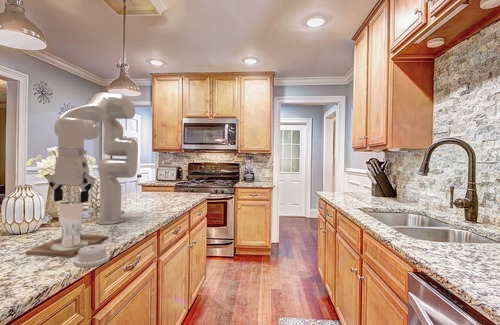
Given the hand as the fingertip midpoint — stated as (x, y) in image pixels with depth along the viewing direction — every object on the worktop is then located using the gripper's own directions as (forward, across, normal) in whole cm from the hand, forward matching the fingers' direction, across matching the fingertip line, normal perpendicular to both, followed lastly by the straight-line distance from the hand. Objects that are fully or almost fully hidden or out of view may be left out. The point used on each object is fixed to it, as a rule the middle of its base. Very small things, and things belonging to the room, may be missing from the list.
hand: (71, 201), depth 95 cm
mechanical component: (+17, -14, +10) cm, 24 cm away
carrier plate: (+17, +2, -2) cm, 17 cm away
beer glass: (+16, 0, +1) cm, 16 cm away
